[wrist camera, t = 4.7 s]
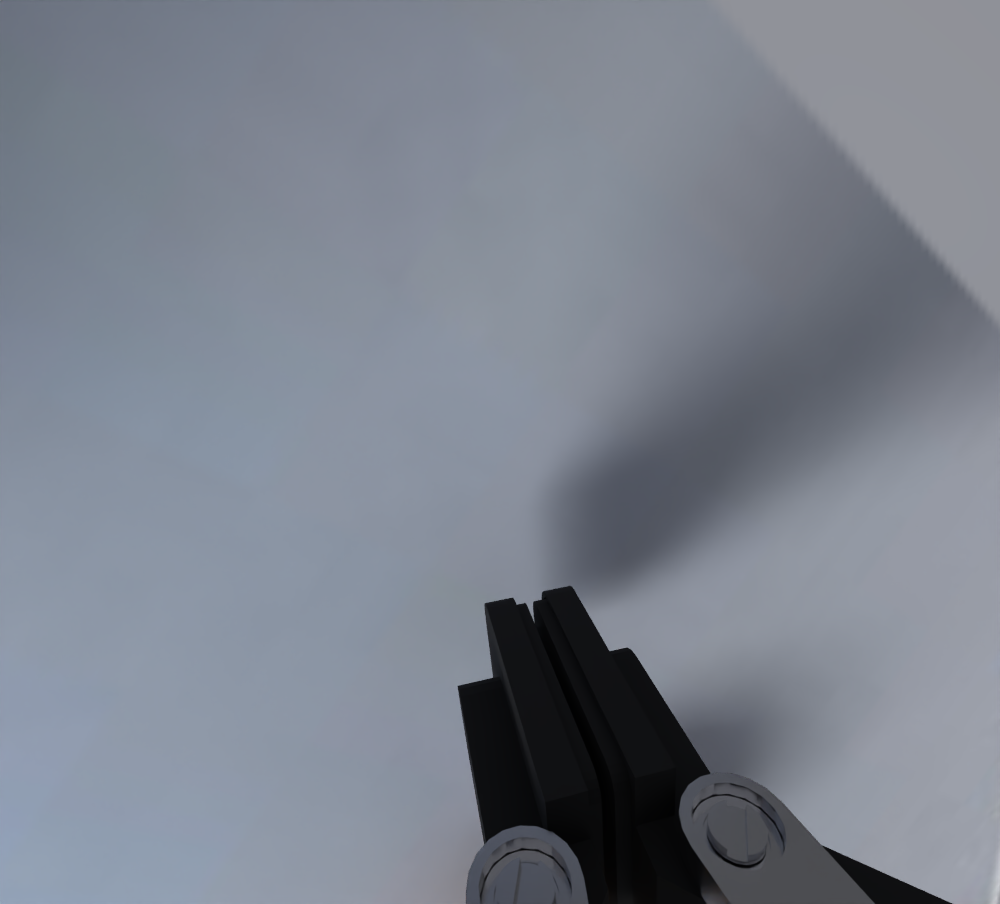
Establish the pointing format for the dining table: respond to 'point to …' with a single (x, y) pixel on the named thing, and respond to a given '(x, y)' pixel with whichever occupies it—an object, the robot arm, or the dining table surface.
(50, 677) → the dining table surface
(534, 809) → the robot arm
